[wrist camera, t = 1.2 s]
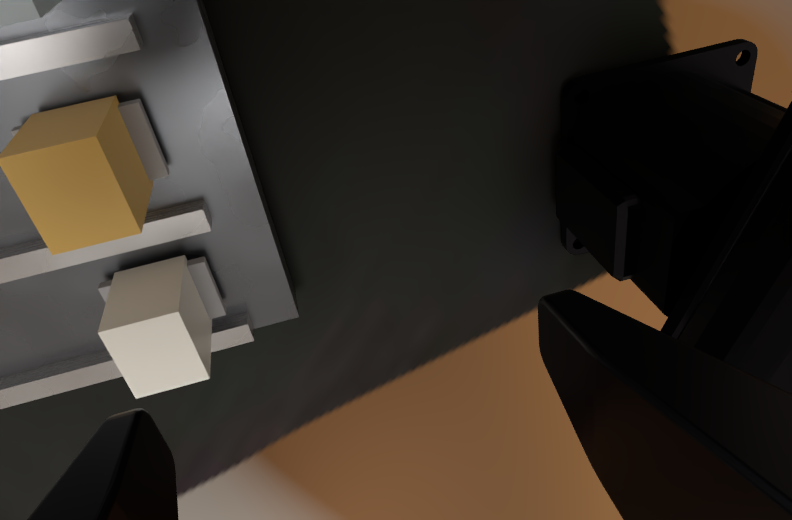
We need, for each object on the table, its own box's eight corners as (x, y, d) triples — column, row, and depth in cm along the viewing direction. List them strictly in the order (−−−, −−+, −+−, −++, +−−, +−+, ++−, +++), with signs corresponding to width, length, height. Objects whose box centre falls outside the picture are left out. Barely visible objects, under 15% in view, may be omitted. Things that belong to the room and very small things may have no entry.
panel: (134, -215, 13) (116, -229, 11) (294, 290, 21) (301, 336, 19) (-477, -107, 12) (-622, -101, 10) (-64, 384, 20) (-98, 444, 18)
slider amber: (136, 90, 15) (120, 130, 13) (172, 178, 16) (163, 227, 14) (10, 119, 15) (-29, 164, 12) (57, 205, 16) (29, 260, 14)
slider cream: (202, 250, 18) (198, 306, 15) (228, 314, 19) (227, 373, 17) (96, 277, 17) (77, 338, 15) (130, 339, 19) (117, 404, 16)
